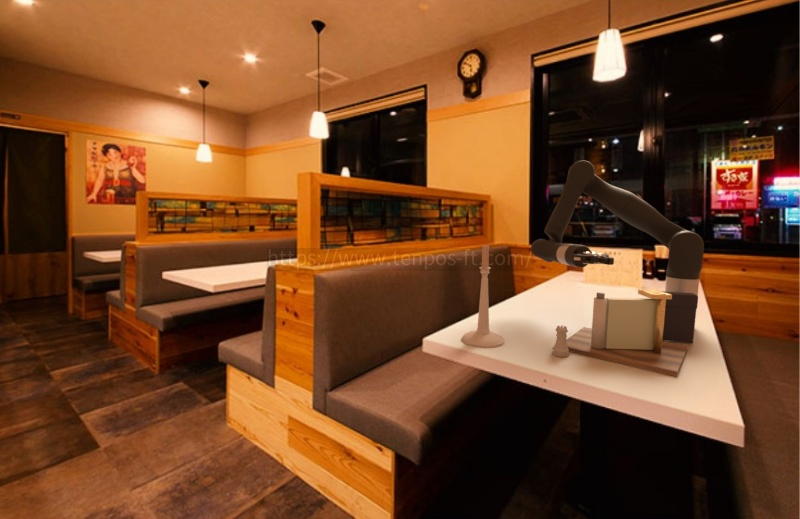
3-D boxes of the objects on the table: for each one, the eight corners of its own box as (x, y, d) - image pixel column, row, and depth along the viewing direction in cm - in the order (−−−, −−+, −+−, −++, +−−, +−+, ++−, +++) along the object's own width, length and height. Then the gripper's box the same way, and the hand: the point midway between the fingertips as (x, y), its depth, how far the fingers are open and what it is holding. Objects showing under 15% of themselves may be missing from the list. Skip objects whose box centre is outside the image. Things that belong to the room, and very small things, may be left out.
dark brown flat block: (688, 339, 118) (692, 292, 117) (693, 344, 114) (698, 295, 113) (647, 335, 122) (651, 290, 120) (651, 340, 118) (655, 292, 116)
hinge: (593, 348, 106) (597, 294, 104) (589, 344, 109) (592, 291, 107) (660, 350, 104) (664, 295, 102) (653, 346, 107) (657, 293, 106)
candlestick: (456, 343, 114) (458, 244, 111) (469, 332, 126) (471, 241, 122) (498, 350, 108) (502, 246, 105) (508, 338, 120) (512, 243, 116)
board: (583, 330, 127) (583, 327, 127) (687, 350, 109) (687, 346, 109) (558, 349, 110) (558, 345, 110) (676, 376, 91) (677, 371, 91)
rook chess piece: (567, 358, 102) (569, 330, 101) (550, 355, 105) (551, 327, 104) (570, 353, 106) (571, 326, 105) (553, 350, 108) (554, 323, 107)
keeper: (633, 348, 110) (638, 289, 108) (651, 348, 110) (656, 289, 108) (647, 357, 103) (652, 294, 101) (666, 358, 103) (672, 294, 101)
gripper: (557, 244, 129) (593, 249, 112) (590, 243, 132) (631, 248, 115) (555, 266, 130) (592, 274, 113) (589, 265, 133) (629, 272, 116)
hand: (611, 261), depth 114 cm, fingers closed
